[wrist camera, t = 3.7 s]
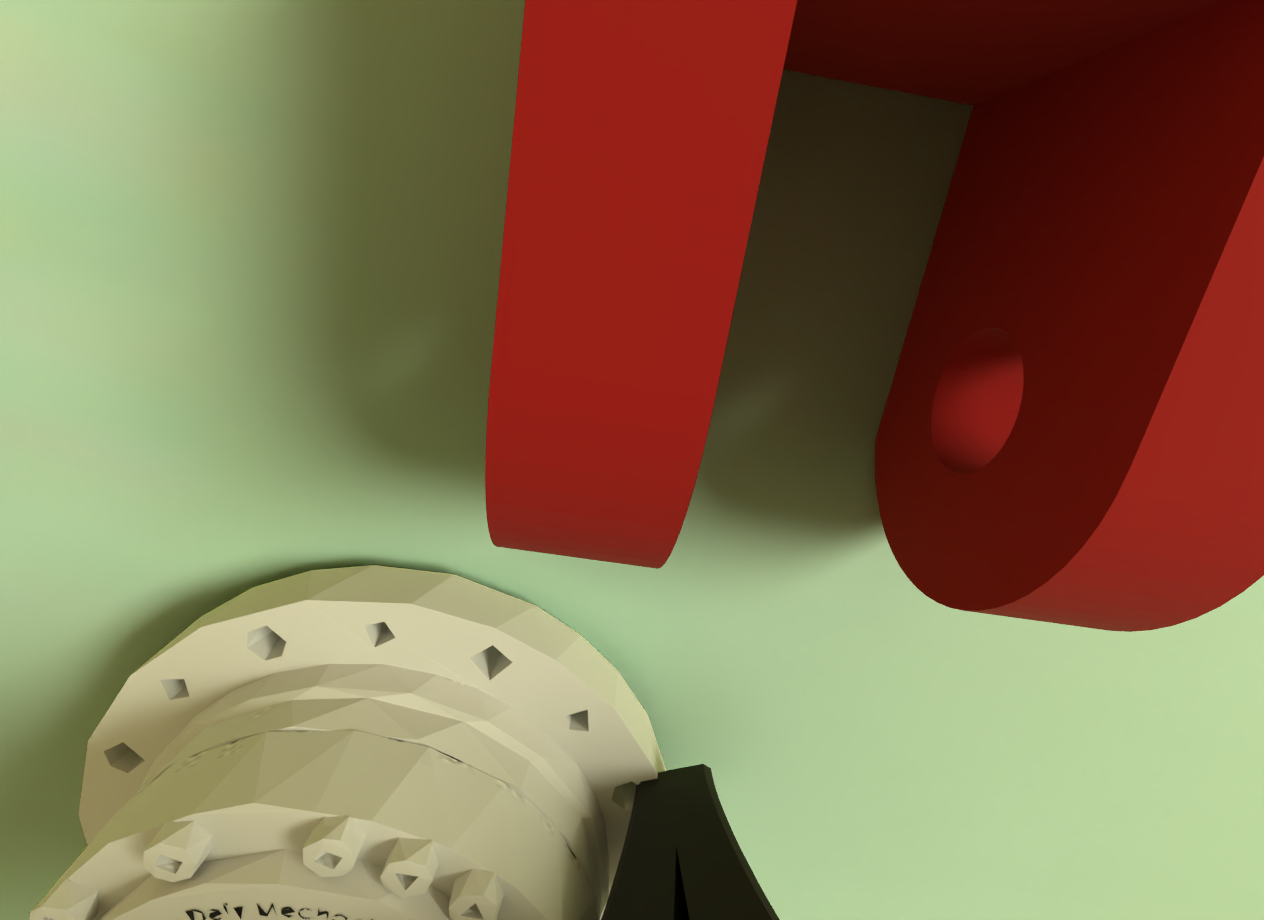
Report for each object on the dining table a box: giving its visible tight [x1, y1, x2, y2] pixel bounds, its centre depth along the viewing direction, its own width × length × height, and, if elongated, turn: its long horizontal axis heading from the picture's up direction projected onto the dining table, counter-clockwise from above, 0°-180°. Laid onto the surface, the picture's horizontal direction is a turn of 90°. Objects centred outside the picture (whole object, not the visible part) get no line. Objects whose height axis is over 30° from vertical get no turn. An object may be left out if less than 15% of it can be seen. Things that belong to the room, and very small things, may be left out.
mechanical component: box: [29, 565, 666, 920], centre depth 10 cm, size 10×4×10 cm
